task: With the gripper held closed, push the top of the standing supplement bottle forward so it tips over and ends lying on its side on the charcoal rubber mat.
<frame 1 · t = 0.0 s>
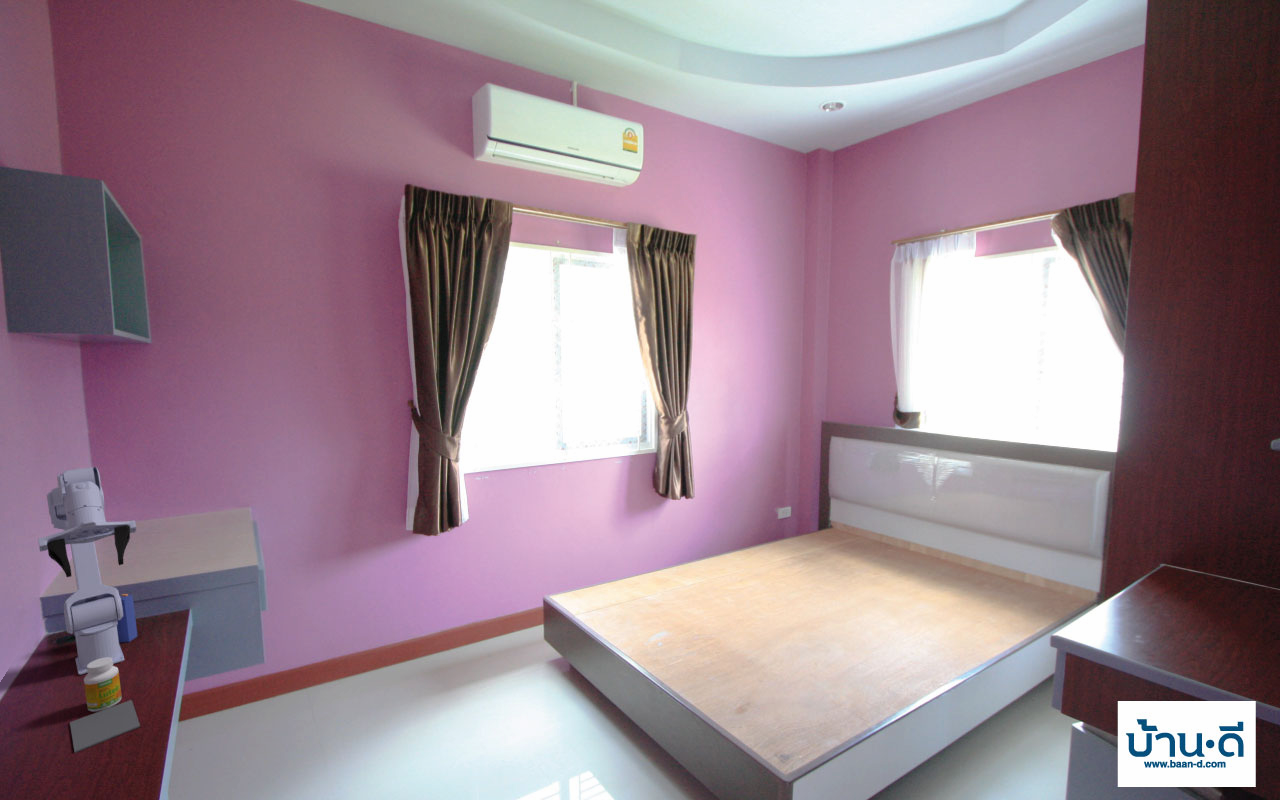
hand: (95, 568, 114), 32 cm above the table, tool tilted 50°, fingers open, 7 cm apart
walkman: (117, 640, 146), on the table
supplement bottle: (105, 705, 121), on the table
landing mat: (105, 725, 115), on the table
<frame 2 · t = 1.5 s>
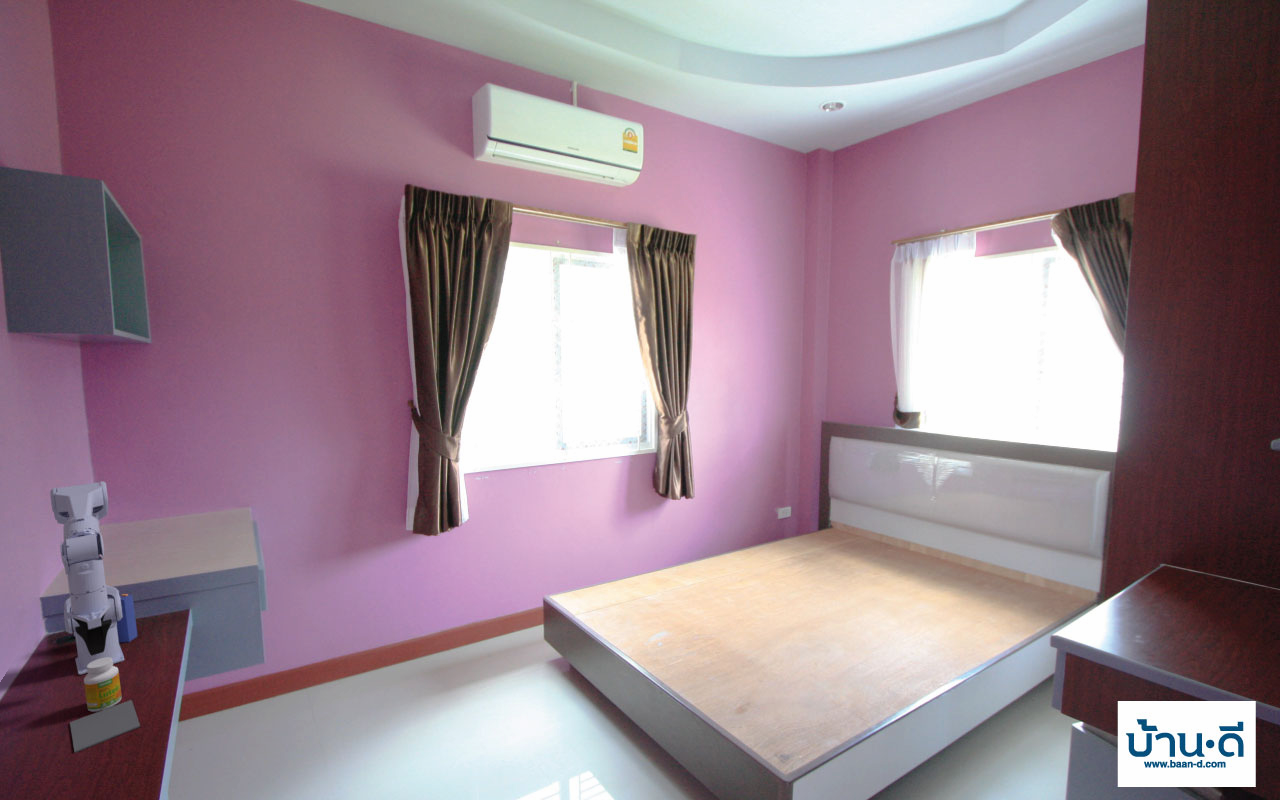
hand: (95, 647, 124), 10 cm above the table, tool pointing down, fingers open, 6 cm apart
nothing on the table moved.
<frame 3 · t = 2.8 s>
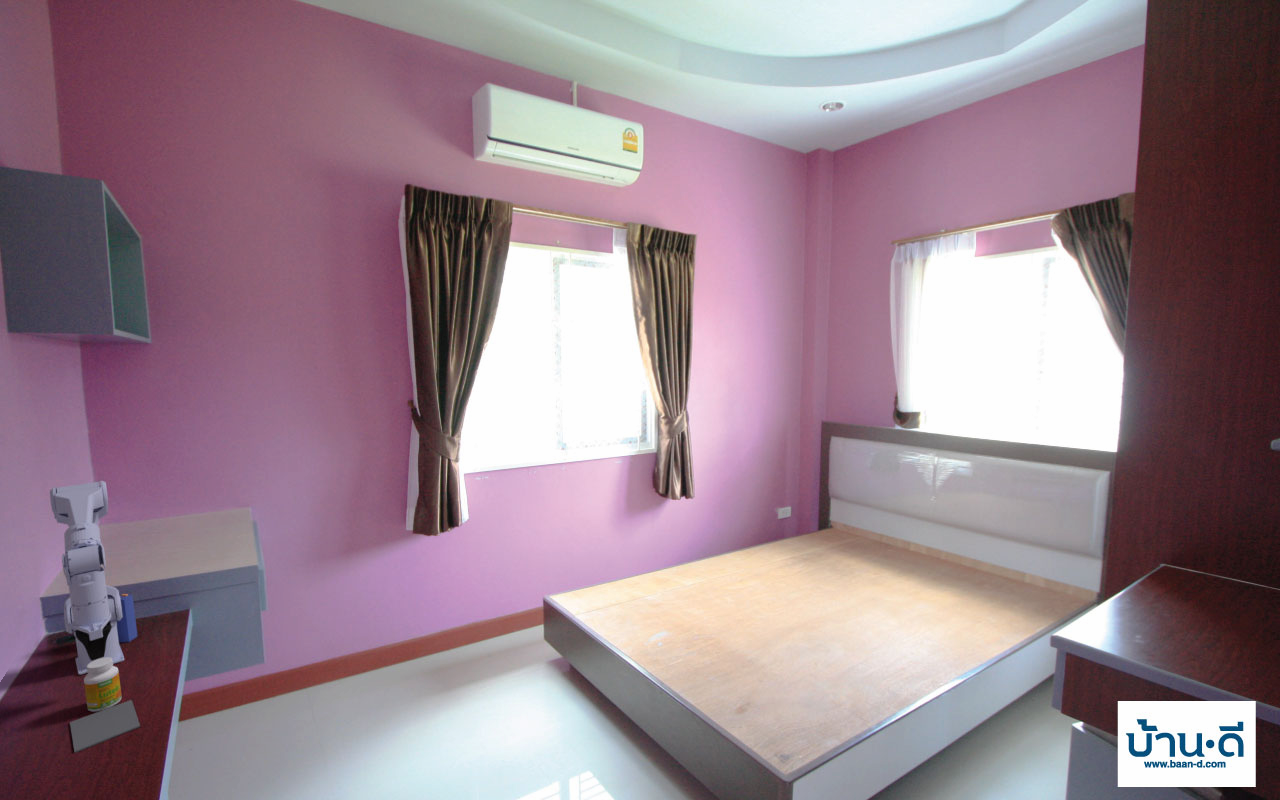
hand: (97, 657, 125), 8 cm above the table, tool pointing down, fingers closed
nothing on the table moved.
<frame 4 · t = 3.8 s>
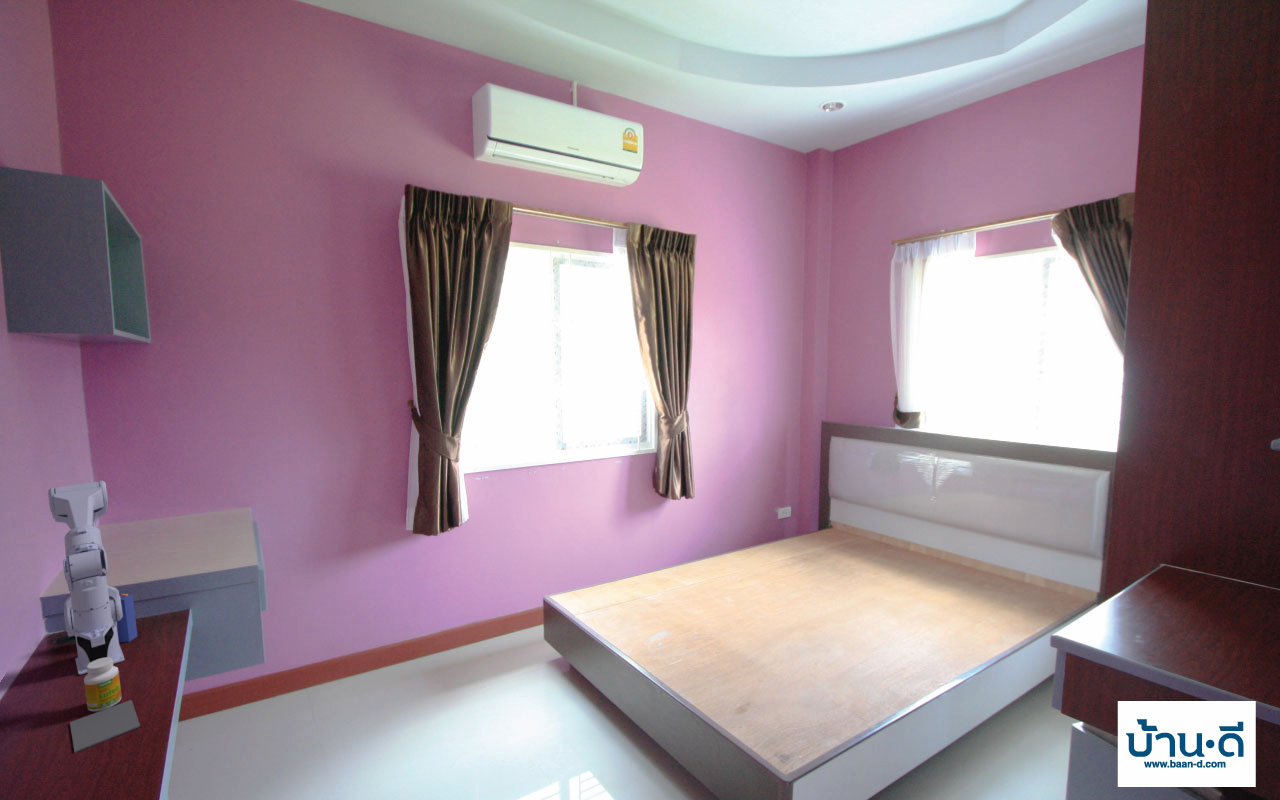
hand: (99, 664, 122), 8 cm above the table, tool pointing down, fingers closed
supplement bottle: (105, 704, 121), on the table, touching gripper
everything else where it was.
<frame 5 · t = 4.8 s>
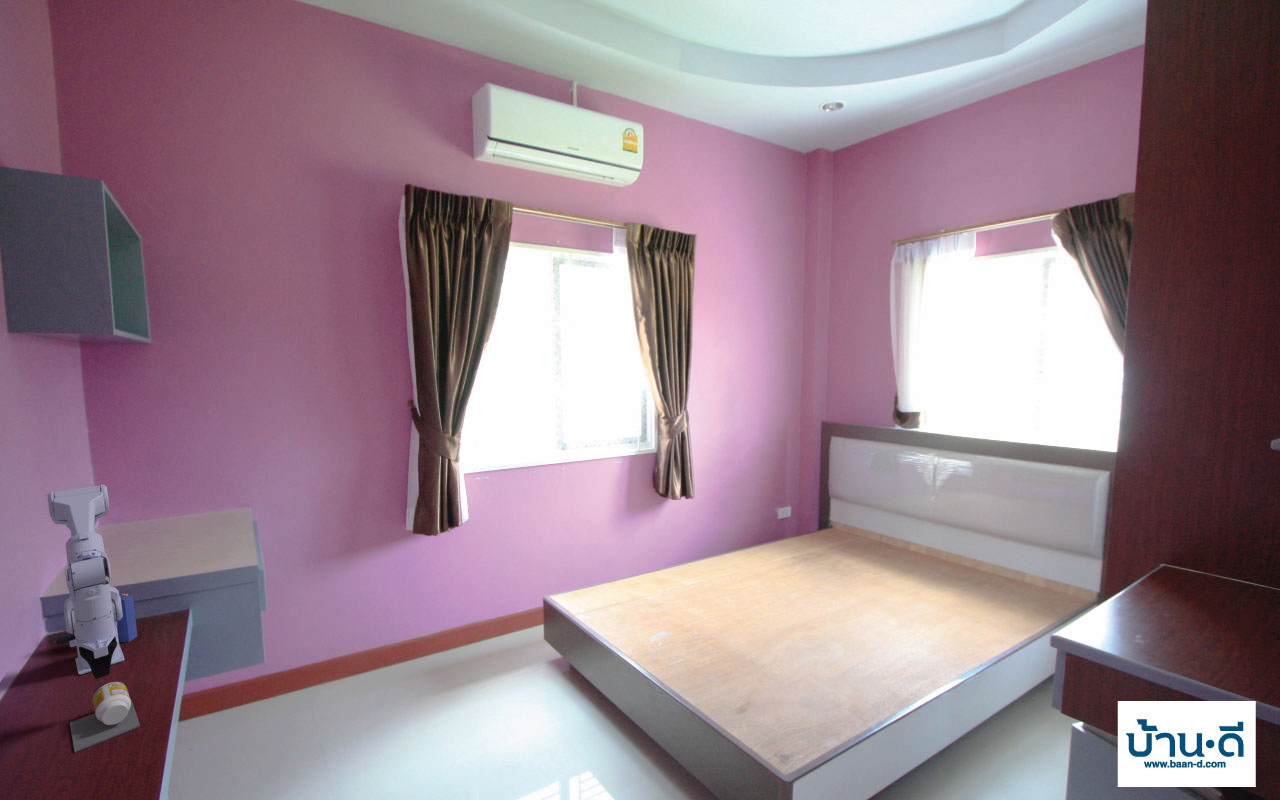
hand: (102, 675, 118), 8 cm above the table, tool pointing down, fingers closed
supplement bottle: (109, 693, 120), point 3 cm above the table, touching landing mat
everything else where it was.
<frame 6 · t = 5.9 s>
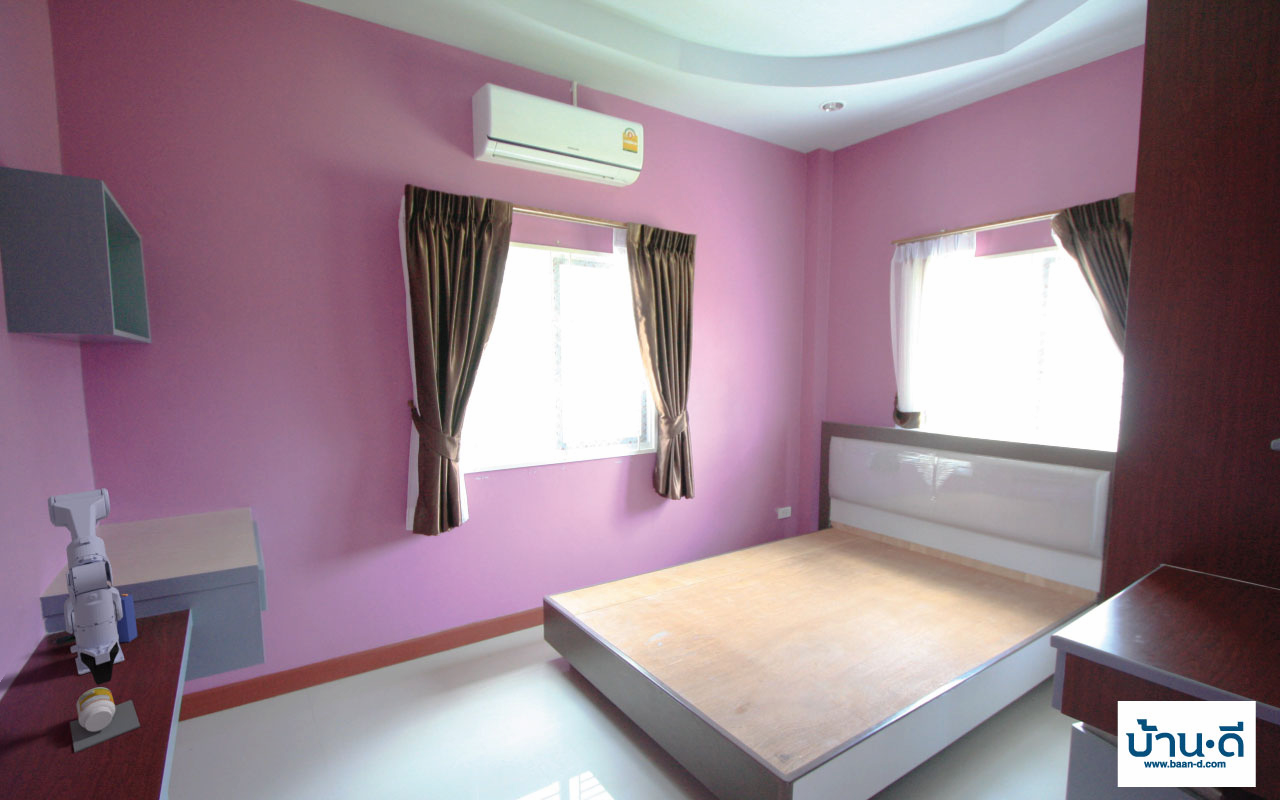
hand: (103, 681, 116), 8 cm above the table, tool pointing down, fingers closed
supplement bottle: (94, 699, 118), point 3 cm above the table, touching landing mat
everything else where it was.
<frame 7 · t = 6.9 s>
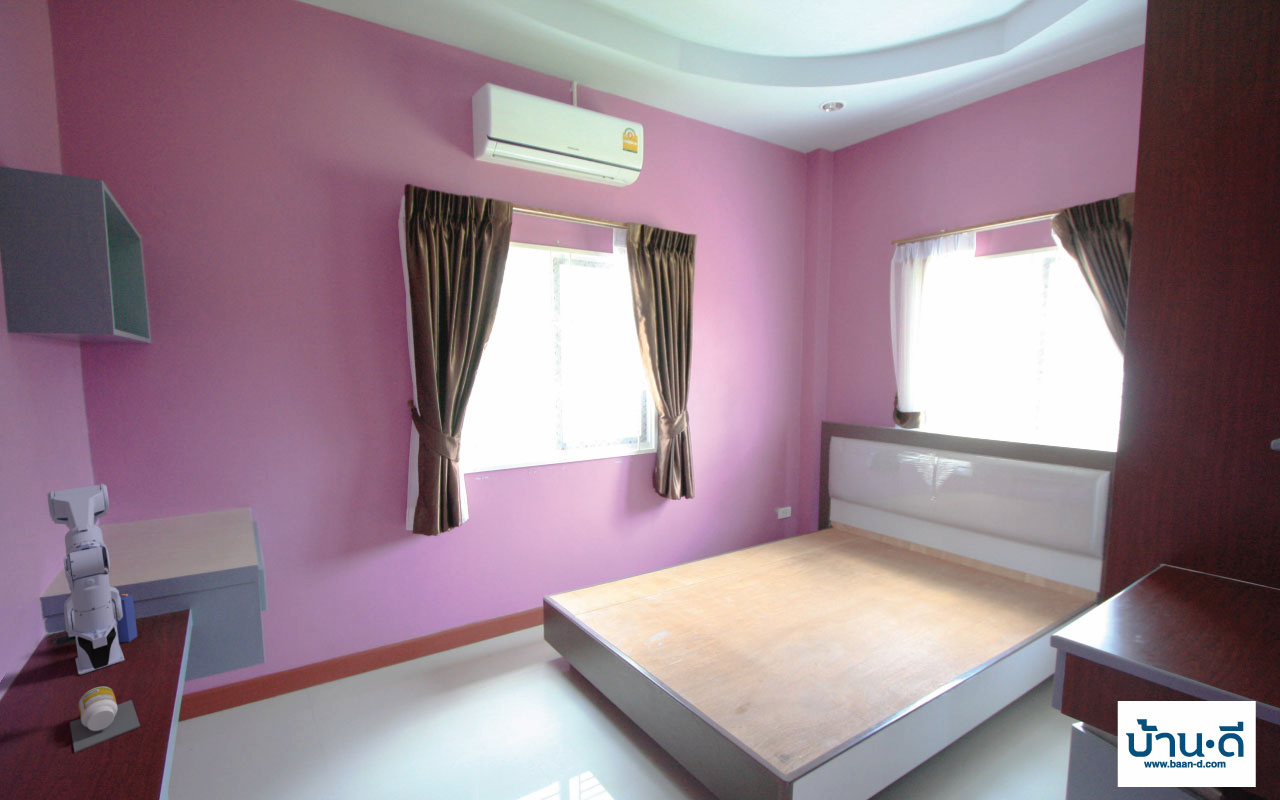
hand: (100, 665, 118), 10 cm above the table, tool pointing down, fingers closed
nothing on the table moved.
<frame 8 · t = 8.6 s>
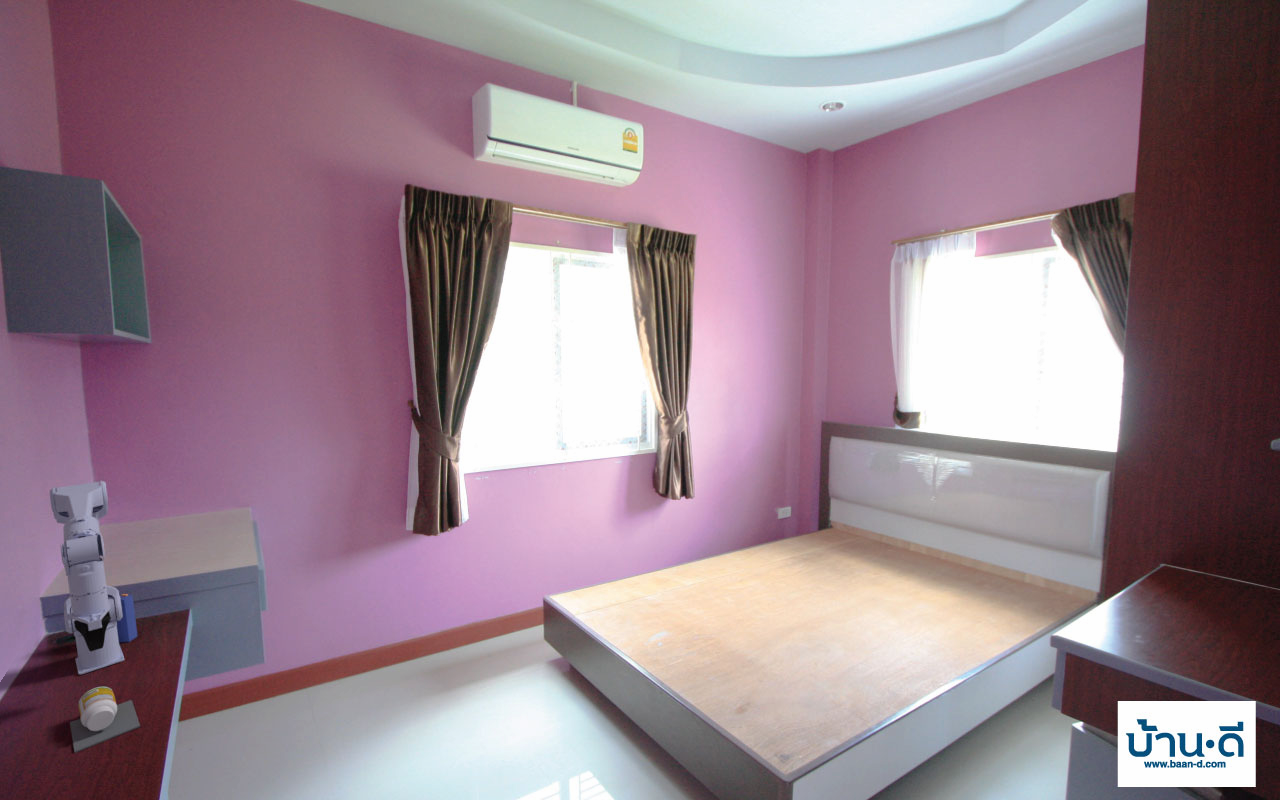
hand: (96, 648, 124), 10 cm above the table, tool pointing down, fingers closed
nothing on the table moved.
at the end: supplement bottle tilted 91°; supplement bottle inside the target area (4.5 cm from its centre), point 3.0 cm above the table; the gripper is holding nothing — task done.
